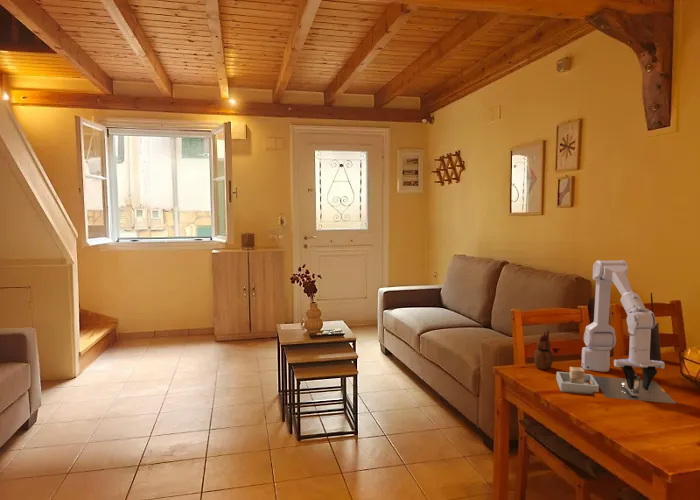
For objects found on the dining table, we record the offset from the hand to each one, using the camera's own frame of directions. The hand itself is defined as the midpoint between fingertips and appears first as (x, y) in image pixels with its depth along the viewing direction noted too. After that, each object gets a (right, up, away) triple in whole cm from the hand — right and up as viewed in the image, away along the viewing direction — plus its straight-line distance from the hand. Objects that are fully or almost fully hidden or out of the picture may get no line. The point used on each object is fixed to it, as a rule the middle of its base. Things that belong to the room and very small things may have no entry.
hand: (637, 388), depth 153 cm
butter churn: (+31, 0, +40) cm, 51 cm away
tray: (-14, -3, +12) cm, 19 cm away
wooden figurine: (-18, -1, +31) cm, 36 cm away
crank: (0, -2, +4) cm, 4 cm away
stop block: (-15, -2, +11) cm, 19 cm away
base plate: (+2, -3, +7) cm, 8 cm away
